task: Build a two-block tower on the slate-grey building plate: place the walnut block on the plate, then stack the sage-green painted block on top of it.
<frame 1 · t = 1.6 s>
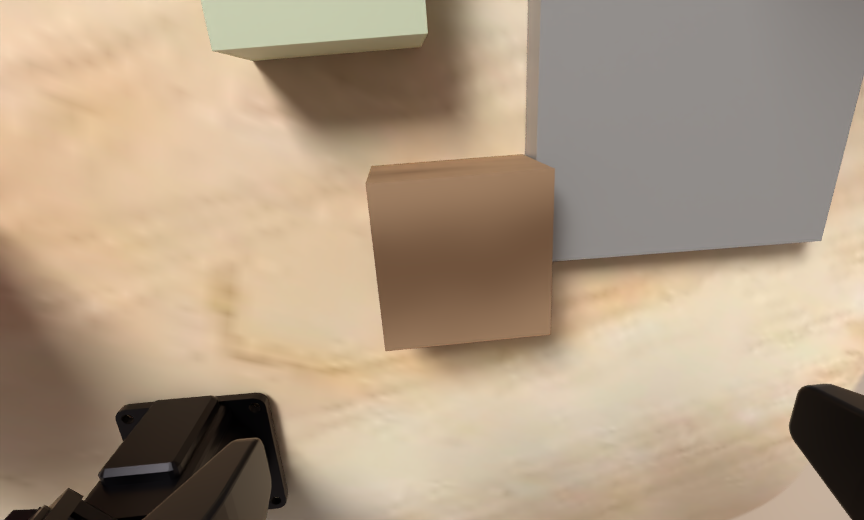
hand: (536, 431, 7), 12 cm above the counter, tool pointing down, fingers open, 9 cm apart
plate: (678, 93, 18), on the counter
walnut block: (451, 231, 19), on the counter
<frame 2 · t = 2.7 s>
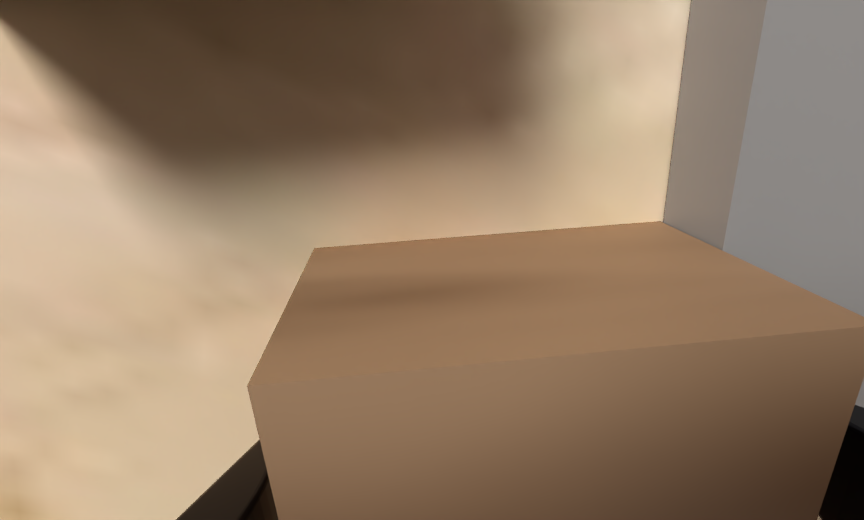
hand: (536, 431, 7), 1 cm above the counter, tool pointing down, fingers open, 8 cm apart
walnut block: (490, 376, 9), on the counter
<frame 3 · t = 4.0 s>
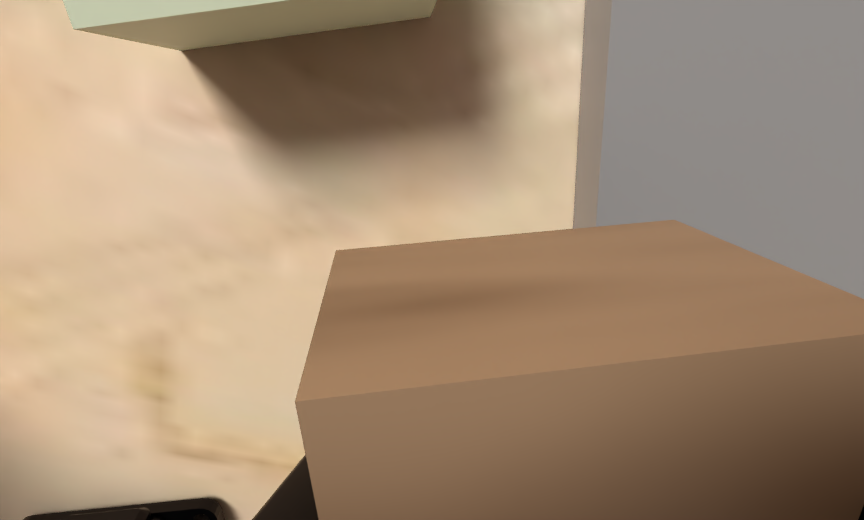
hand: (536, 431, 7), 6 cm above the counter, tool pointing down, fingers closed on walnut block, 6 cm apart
plate: (799, 90, 12), on the counter
walnut block: (510, 380, 9), point 5 cm above the counter, touching gripper
when the fingers open (4 cm above the counter, at t = 6.8 s): walnut block drops 1 cm, resting on plate.
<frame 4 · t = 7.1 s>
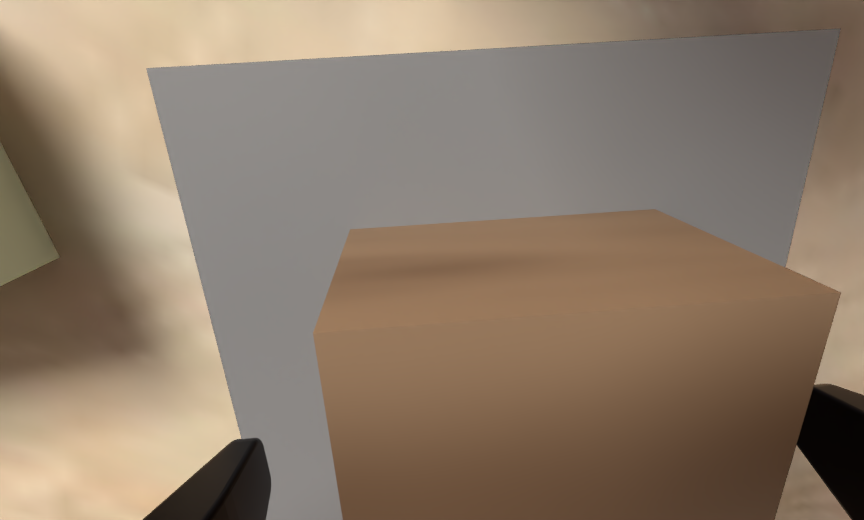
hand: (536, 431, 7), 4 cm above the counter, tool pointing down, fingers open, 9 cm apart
plate: (492, 318, 11), on the counter
walnut block: (504, 352, 10), point 1 cm above the counter, touching plate
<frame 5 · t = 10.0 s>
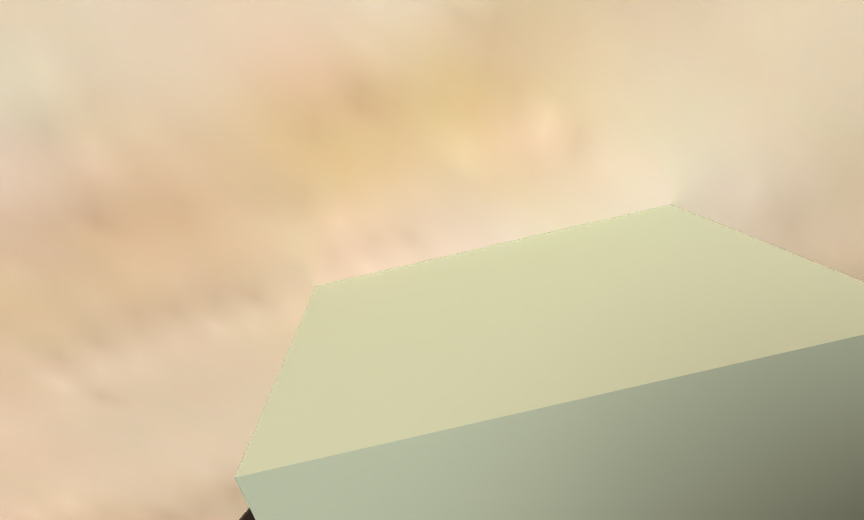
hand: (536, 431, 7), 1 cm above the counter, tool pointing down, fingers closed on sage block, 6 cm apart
sage block: (519, 391, 9), on the counter, touching gripper
when the fingers open (8 cm above the counter, at t = 14.3 s): sage block drops 1 cm, resting on walnut block.
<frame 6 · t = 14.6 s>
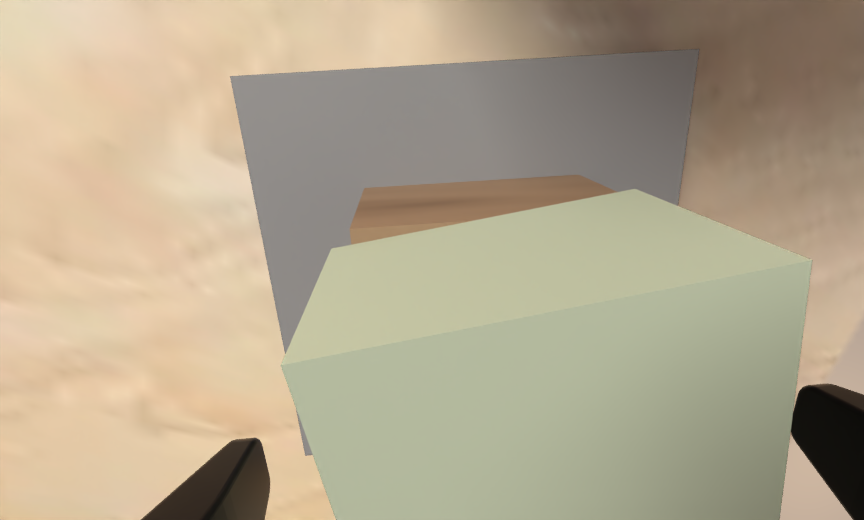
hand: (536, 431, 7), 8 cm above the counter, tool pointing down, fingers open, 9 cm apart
plate: (468, 262, 15), on the counter
sage block: (502, 350, 10), point 5 cm above the counter, touching walnut block
walnut block: (474, 280, 14), point 1 cm above the counter, touching plate, sage block
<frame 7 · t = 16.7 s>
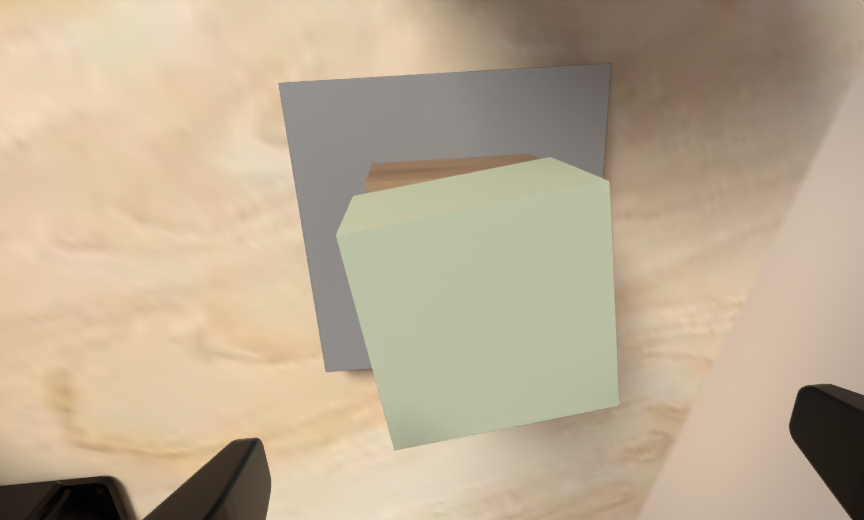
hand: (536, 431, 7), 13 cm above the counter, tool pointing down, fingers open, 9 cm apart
plate: (450, 223, 20), on the counter
sage block: (467, 268, 14), point 5 cm above the counter, touching walnut block
walnut block: (453, 233, 18), point 1 cm above the counter, touching plate, sage block
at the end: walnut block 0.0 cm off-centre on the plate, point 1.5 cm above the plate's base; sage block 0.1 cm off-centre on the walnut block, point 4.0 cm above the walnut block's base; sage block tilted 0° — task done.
